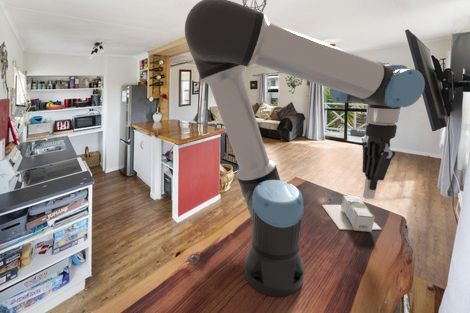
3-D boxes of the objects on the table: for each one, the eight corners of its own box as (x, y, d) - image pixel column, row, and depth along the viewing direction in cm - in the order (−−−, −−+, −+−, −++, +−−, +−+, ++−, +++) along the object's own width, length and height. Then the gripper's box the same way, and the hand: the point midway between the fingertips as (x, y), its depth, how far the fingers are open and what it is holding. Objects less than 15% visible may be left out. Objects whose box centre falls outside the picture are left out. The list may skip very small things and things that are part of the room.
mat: (339, 229, 78) (339, 228, 78) (322, 205, 94) (322, 204, 94) (381, 229, 78) (381, 228, 78) (356, 205, 94) (356, 204, 94)
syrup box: (371, 232, 76) (355, 209, 90) (375, 216, 74) (358, 195, 88) (353, 230, 77) (340, 208, 90) (356, 215, 75) (342, 194, 89)
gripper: (411, 126, 60) (393, 207, 67) (381, 119, 73) (369, 188, 80) (382, 126, 60) (367, 207, 67) (357, 119, 73) (347, 188, 80)
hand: (368, 197), depth 73 cm, fingers closed
